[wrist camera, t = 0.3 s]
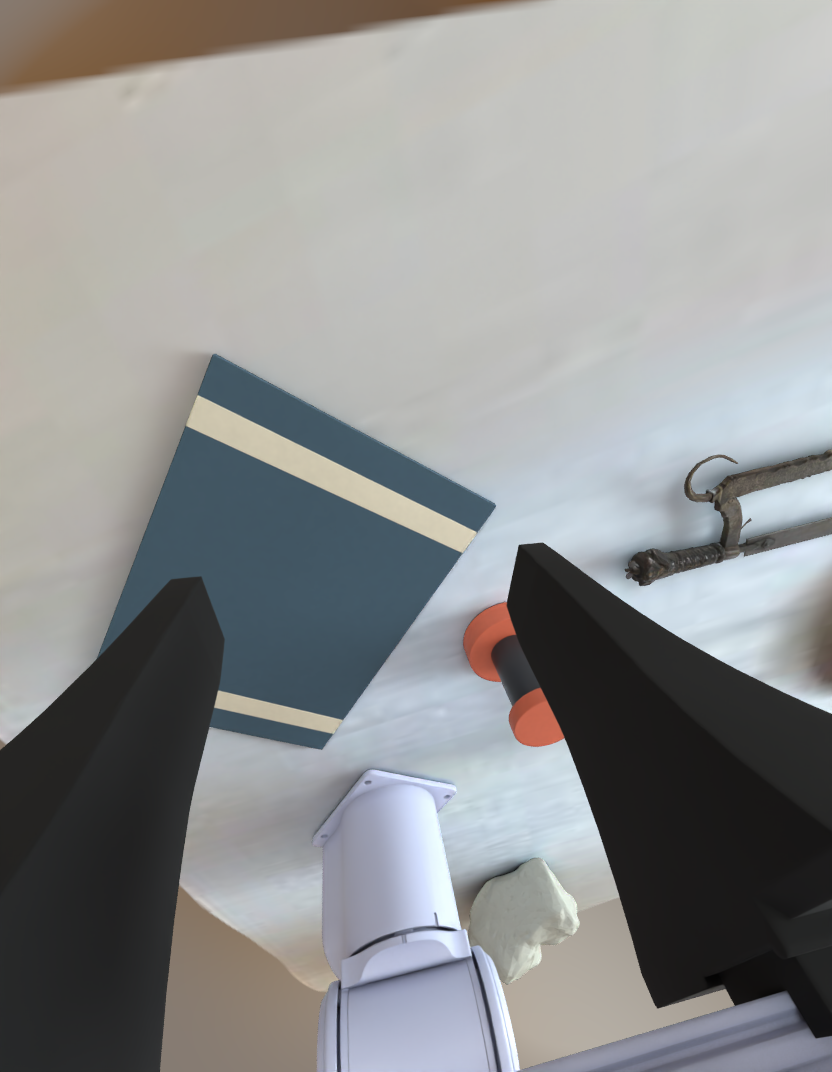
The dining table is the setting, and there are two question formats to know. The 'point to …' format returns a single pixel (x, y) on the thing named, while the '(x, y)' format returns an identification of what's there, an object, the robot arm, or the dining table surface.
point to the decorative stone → (521, 918)
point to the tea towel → (296, 551)
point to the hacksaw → (735, 520)
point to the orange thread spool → (511, 675)
